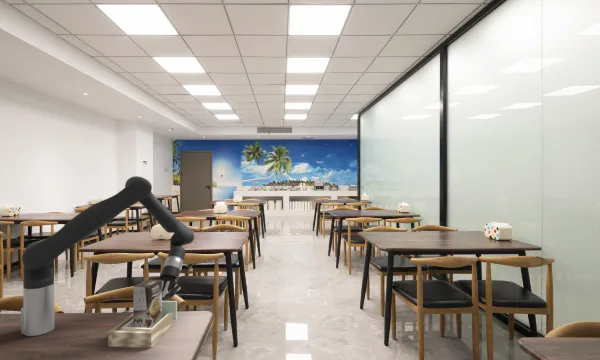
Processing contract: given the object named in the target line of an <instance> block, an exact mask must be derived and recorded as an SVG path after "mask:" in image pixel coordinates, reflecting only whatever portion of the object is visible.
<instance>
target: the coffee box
mask: <svg viewBox="0 0 600 360" xmlns="http://www.w3.org/2000/svg"><path fill="white" fill-rule="evenodd" d="M132 291H133V295H132V297H133V302H132V303H133V307H132V308H133V309H132V311H133V312H132V314H133V327H141V328H152V327H153V326H155V325H156V324H157V323H158V322H159V321H160V320H161V319H162V280H159V279H146V280H144V281H142V282H140V283H137V284H136V285H134V286H133V290H132Z"/></svg>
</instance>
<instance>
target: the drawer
mask: <svg viewBox="0 0 600 360" xmlns="http://www.w3.org/2000/svg"><path fill="white" fill-rule="evenodd" d="M169 313H170V314H173V321H177V320H178V300H165V301H162V319H161V320H160V321H159V322H158V323H157V324H159V323H160V322H161V321H162V320H163V319H164V318H165V317H166V316H167V315H168V314H169ZM157 324H156V325H157ZM156 325H155V326H156ZM155 326H153V327H152V328H141V327H133V319H132V320H131V321H129V322H128V323H127V324H125V325H124V326H123V327H121V331H144V332H150V331H151V330H152V329H153V328H154V327H155Z"/></svg>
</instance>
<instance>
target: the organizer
mask: <svg viewBox="0 0 600 360" xmlns="http://www.w3.org/2000/svg"><path fill="white" fill-rule="evenodd" d="M132 319H133V313H132V314H131V315H129V316H128V317H126V318H125V319H123V320H122V321H121V322H120V323H118V324H117V325H115V326H114V327H113V328H112V329H110V330H108V331H107V337H108V339H107V345H108V346H107V347H114V348H115V347H116V348H138V349H139V348H143V349H144V348H145V349H152V348H153V346H155V345H156V344H157V343H158V342H159V341H160V340H161V339H162V338H163V336H165V335H166V334H167V332H169V331H170V330H171V328H173V322H174V320H173V314H170V313H169V314H168V315H167V316H166V317H165V318H164V319H163V320H162V321H161V322H160V323H159V324H157V325H156V326H155V327H154V328H153V329H152V330H151V331H150V332H144V331H121V327H123V326H124V325H125V324H127V323H128V322H129V321H131V320H132Z"/></svg>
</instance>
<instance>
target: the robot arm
mask: <svg viewBox="0 0 600 360" xmlns="http://www.w3.org/2000/svg"><path fill="white" fill-rule="evenodd" d="M152 189H153V185H152V183H151V181H150V180H148V179H146V178H145V177H142V176H136V175H135V176H131V177H129V178H128V179H127V180H126V181H125V184H124V188H123V189H121V190H119V192H117V193H116V194H114V195H112V196H110V197H108V198H105V199H103V200H100V201H99V202H96V203H94V204H92V205H90V206H88V207H87V208H85V209H84V210H82V211H81V212H79V213H78V214H77V215H75V216H74V217H72V219H70V220H69V221H68V222H67V223H65V224H64V226H62V227H61V228H60V229H59V230H57V232H55V233H54V234H52V235H50V236H48V237H47V238H44V239H43V240H42V241H35V242H32V243H29V245H27V247H26V248H25V250H24V251H23V253H22V257H21V261H22V262H21V263H22V264H23V282H22V283H23V285H22V287H23V288H22V290H23V293H22V294H23V300H22V302H23V306H22V307H21V309H20V334H21V335H24V336H25V335H26V337H34V336H35V337H36V336H41V335H44V334H47V333H50V332H52V331H53V330H54V329H55V326H56V325H55V260H56V259H57V258H59V256H61V255H62V254H63V253H64V252H66V251H67V250H68V249H69V248H71V247H72V246H74V245H76V244H78V243H79V242H81V241H82V240H84V239H86V238H87V237H90V235H92V234H94V233H95V232H97V231H98V230H99V229H101V228H103V227H105V225H107V224H108V223H109V222H111V221H112V220H114V219H115V218H116V217H118V216H119V215H120V214H122V213H123V212H124V211H125V210H127V209H129V208H130V207H132V206H134V205H136V204H137V203H139V204H141V205H142V206H143V207H144V208H145V209H146V210H147V211H148V212H149V214H150V215H151V216H152V217H153V219H155V220H156V221H157V223H158V224H159V225H160V226H161V227H162V229H163V230H164V231H165V232H166V233H170V234H172V233H173V234H172V235H171V236H170V243H169V252H168V254H167V257H166V260H165V262H164V265H163V268H162V270H161V273H160V275H159V279H158V280H162V301H167V299H171V298H173V297H174V296H176V294H178V292H180V291H181V290H182V288H181V286H180V285H179V284H178V281H179V279H180V278H179V277H180V274H181V271H182V267H183V263H184V260H185V257H186V248H184V247H183V246H187V245H189V244H191V243H193V242H194V239H195V235H194V232H193V230H192V229H191V228H190V227H188V226H187V225H186V224H184V223H182V221H179V220H178V218H177V217H176V216H175V215H174V214H173V213H172V211H170V209H168V207H166V206H165V205H164V204H163V203H162V202H161V201H160V200H159V199H158V198H157V197H156V196H155V194H153V192H152Z"/></svg>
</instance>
